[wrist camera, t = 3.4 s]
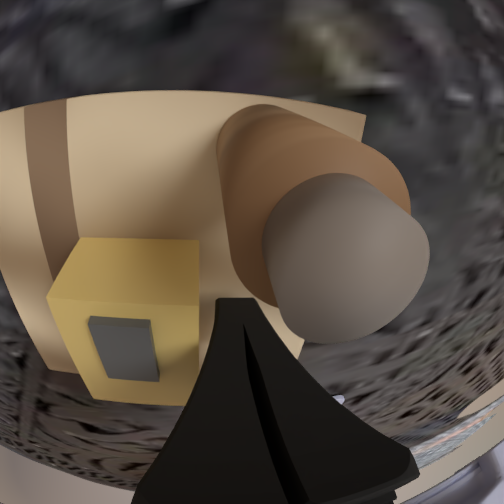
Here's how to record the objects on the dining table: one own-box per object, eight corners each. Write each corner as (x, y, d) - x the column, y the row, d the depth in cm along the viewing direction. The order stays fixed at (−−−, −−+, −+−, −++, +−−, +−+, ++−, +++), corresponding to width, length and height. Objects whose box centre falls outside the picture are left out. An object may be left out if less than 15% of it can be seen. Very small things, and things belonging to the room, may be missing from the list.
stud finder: (197, 344, 12) (200, 412, 9) (106, 339, 11) (92, 405, 8) (199, 239, 9) (199, 315, 6) (80, 237, 8) (41, 305, 6)
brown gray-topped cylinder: (299, 194, 9) (403, 349, 4) (213, 189, 8) (229, 370, 3) (313, 110, 7) (480, 188, 2) (219, 99, 7) (253, 147, 2)
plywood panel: (285, 358, 15) (290, 376, 14) (54, 352, 13) (49, 369, 12) (348, 110, 9) (366, 115, 8) (-12, 115, 6) (-31, 122, 5)
